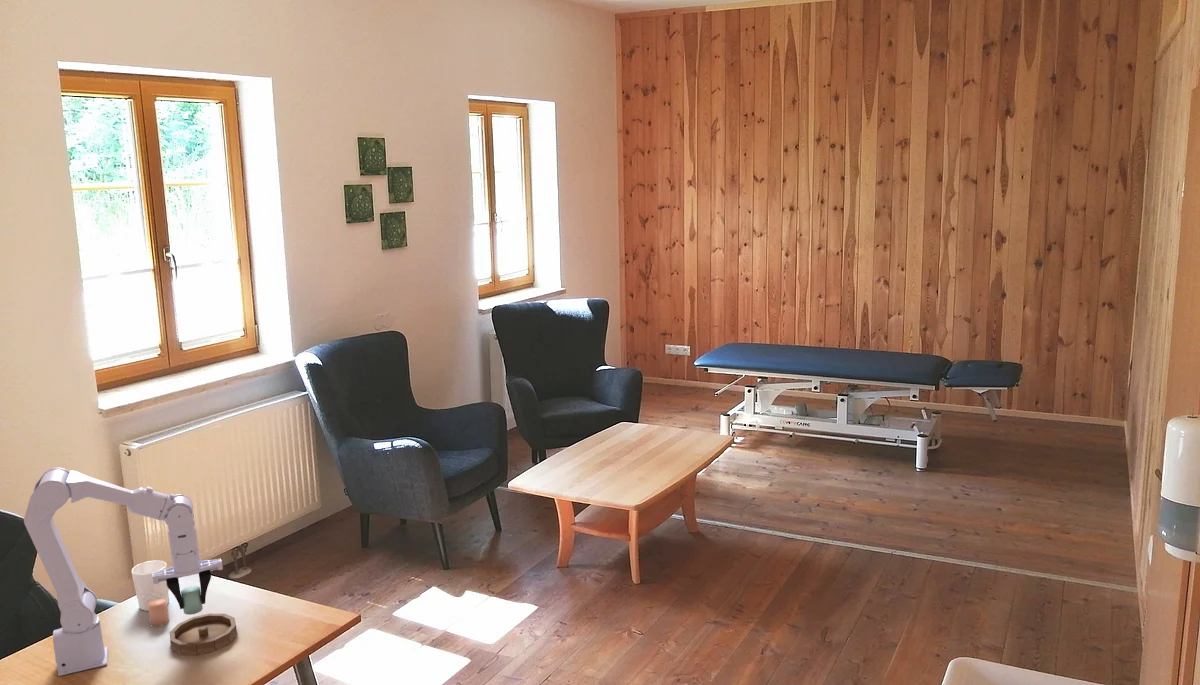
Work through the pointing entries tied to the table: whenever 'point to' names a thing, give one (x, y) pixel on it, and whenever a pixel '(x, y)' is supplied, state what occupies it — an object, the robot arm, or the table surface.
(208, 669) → the table surface
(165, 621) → the peach rounded cylinder
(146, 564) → the white cup
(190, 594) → the pale teal rounded piece
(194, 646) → the tray
